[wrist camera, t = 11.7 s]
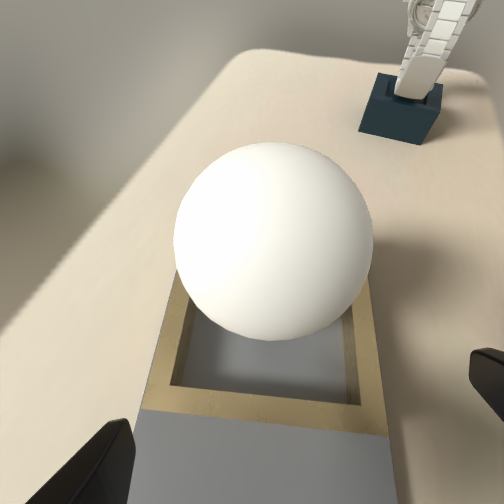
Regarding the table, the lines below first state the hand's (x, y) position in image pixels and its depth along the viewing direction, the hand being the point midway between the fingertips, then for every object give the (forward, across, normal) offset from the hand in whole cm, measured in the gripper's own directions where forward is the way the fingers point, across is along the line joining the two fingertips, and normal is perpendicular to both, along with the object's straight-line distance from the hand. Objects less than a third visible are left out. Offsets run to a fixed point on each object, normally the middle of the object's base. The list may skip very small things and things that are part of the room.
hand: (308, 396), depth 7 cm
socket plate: (+8, 0, +4) cm, 9 cm away
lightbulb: (+9, 0, +2) cm, 9 cm away
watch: (+21, -16, -9) cm, 28 cm away
